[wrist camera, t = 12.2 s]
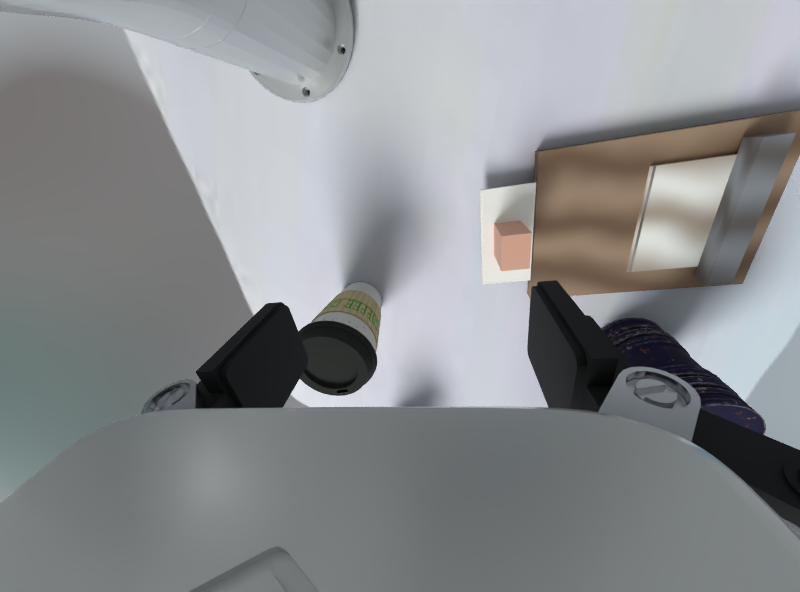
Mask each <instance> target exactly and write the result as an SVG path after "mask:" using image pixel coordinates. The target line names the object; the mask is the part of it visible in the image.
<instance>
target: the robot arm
mask: <svg viewBox="0 0 800 592" xmlns="http://www.w3.org/2000/svg"><path fill="white" fill-rule="evenodd" d="M0 12H7V13H18V14H30V15H42V16H55V17H67V18H75V19H83V20H88V21H94V22H99V23H104V24H108V25H112V26H116V27H120V28H124V29H128V30H131V31H134V32H137V33H141V34H144V35H147V36H150V37H153V38H157V39H160V40H163V41H165V42H168V43H171V44H174V45H177V46H179V47H182V48H185V49H188V50H191V51H194V52H197V53H200V54H203V55H206V56H209V57H212V58H215V59H218V60H221V61H223V62H226V63H229V64H232V65H235V66H238V67H241V68H244V69H247V70H249V71H250V73H251V74H252V75H253V77H254V78H255V79H256V80H257V81H258V82H259V83H260V84H261V85H262V86H263V87H264V88H265V89H267V90H268V91H270V92H271V93H273V94H274V95H276V96H278V97H281V98H283V99H285V100H289V101H293V102H303V103H305V102H311V101H315V100H318V99H320V98H322V97H324V96H326V95H327V94H328V93H330V92H331V91H332V90H333V89H334V88H335V87H336V86H337V85H338V83H339V82H340V81H341V79H342V77H343V75H344V74H345V72H346V70H347V67H348V64H349V61H350V58H351V53H352V48H353V37H354V25H353V16H352V10H351V5H350V1H349V0H0ZM343 48H345V49H346V52H345V53H344V54H342V49H343ZM309 90H310V95H308V93H307V92H308V91H309ZM528 356H529V359H530V361H531V364H532V366H533V369H534V371H535V374H536V376H537V379H538V382H539V384H540V387H541V389H542V392H543V394H544V397H545V399H546V402H547V404H548V407H549V408H542V407H299V408H298V407H296V408H295V407H292V408H291V407H290V408H289V407H288V408H287V407H286V408H285V407H284V408H283V406H284V404H285V402H286V401H287V399H288V397H289V396H290V394H291V392H292V391H293V389H294V387H295V385H296V384H297V382H298V380H299V379H300V377H301V375H302V373H303V372H304V370H305V368H306V367H307V364H308V356H307V353H306V350H305V348H304V345H303V343H302V340H301V338H300V335H299V333H298V330H297V327H296V325H295V322H294V320H293V317H292V315H291V312H290V310H289V308H288V306H286V305H284V304H283V303H282V302H279V303H267V304H266V305H265V306H264V307H263V308H262V309H260V310H259V311H258V312H257V313H256V314H255V315H254V316H253V317H252V318H251V319H250V320H249V321H248V322H247V323H246V324H245V325H244V326H243V327H242V328H241V329H240V330H239V331H238V332H237V333H236V334H235V335H233V336H232V337H231V338H230V340H228V341H227V342H226V343H225V344H224V345H223V346H222V347H221V348H220V349H219V350H218V351H217V352H216V353H215V354H214V355H213V356H212V357H211V358H210V359H209V360H207V362H206V363H204V364H203V365H202V366H201V367H200V368H199V369H198V370H197V371H196V373H197V375H198V376H199V378H200V379H201V381H200V382H199V383H198V384H196V382H195V381H194V380H192V379H185V380H180V381H177V382H174V383H172V384H169V385H167V386H165V387H164V388H162V389H160V390H159V391H157V392H156V393H155V394H154V395H152V396H151V397H150V398H149V399H148V400H147V402H146V403H145V404H144V406H143V409H142V412H141V415H137V416H132V417H129V418H125V419H122V420H119V421H116V422H113V423H110V424H108V425H105V426H103V427H101V428H98V429H96V430H94V431H92V432H90V433H88V434H86V435H85V436H83V437H81V438H80V439H78V440H77V441H76V442H74V443H73V444H71V445H70V446H69V447H67V448H66V449H65V450H64V451H63V452H61V453H60V454H59V455H57V456H56V457H55V458H53V459H52V460H51V461H50V462H49V463H47V464H46V465H45V466H43V467H42V468H41V469H40V470H38V472H36V473H35V474H34V475H32V476H31V477H30V478H29V479H27V480H26V481H25V482H24V483H23V484H21V485H20V486H19V487H18V488H16V489H15V490H14V491H13V492H12V493H10V494H9V495H8V496H7V497H6V498H5V499H3V500H2V501H1V502H0V592H800V450H798V449H795V448H793V447H791V446H788V445H786V444H784V443H781V442H779V441H776V440H774V439H772V438H769V437H767V436H765V435H762V434H760V433H757V432H755V431H753V430H750V429H748V428H745V427H743V426H741V425H738V424H736V423H733V422H731V421H729V420H726V419H724V418H722V417H719V416H717V415H714V414H712V413H710V412H707V411H705V410H702V409H700V406H701V401H700V396H699V395H698V393H697V392H696V390H695V389H694V388H693V387H692V386H690V385H689V384H688V383H687V382H686V381H684V380H682V379H681V378H679V377H677V376H675V375H673V374H671V373H668V372H666V371H663V370H659V369H655V368H650V367H632V366H631V364H630V363H629V362H628V361H627V359H626V358H625V357H624V356H623V355H622V353H621V352H620V351H619V350H618V349H617V347H616V346H615V345H614V344H613V343H612V341H611V340H610V339H609V338H608V336H607V335H606V334H605V333H604V332H603V330H602V329H601V328H600V327H599V326H598V324H597V323H596V322H595V321H594V319H593V318H591V317H590V316H585V315H584V314H583V312H582V311H581V310H580V309H579V307H578V306H577V305H576V304H575V302H574V301H573V300H572V299H571V297H570V296H569V295H568V293H567V292H566V291H565V290H564V288H563V287H562V286H561V285H560V283H559V282H558V281H557V280H552V281H540V282H538V283H537V286H532V288H531V300H530V316H529V332H528Z"/></svg>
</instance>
